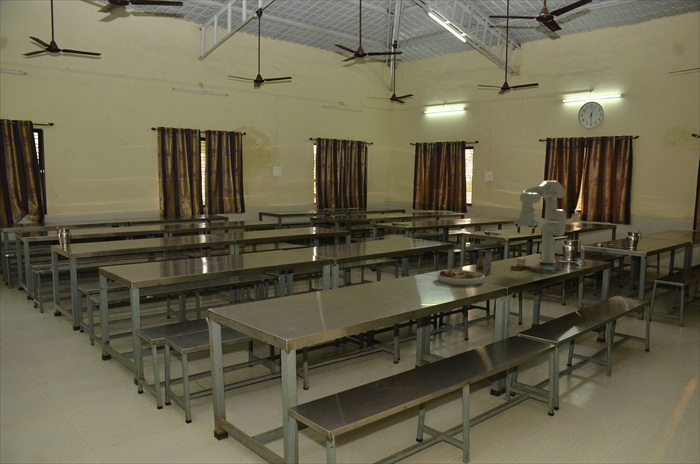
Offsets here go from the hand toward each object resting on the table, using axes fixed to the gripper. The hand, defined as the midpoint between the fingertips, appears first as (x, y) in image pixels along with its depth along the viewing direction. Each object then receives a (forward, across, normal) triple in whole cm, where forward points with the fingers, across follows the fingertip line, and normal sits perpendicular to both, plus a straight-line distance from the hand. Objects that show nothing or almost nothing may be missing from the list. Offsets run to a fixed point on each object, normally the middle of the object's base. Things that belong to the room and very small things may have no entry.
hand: (525, 233), depth 386 cm
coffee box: (+27, +22, +30) cm, 46 cm away
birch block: (+24, +3, -3) cm, 24 cm away
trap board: (+26, -6, -2) cm, 27 cm away
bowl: (+28, +28, +68) cm, 78 cm away
